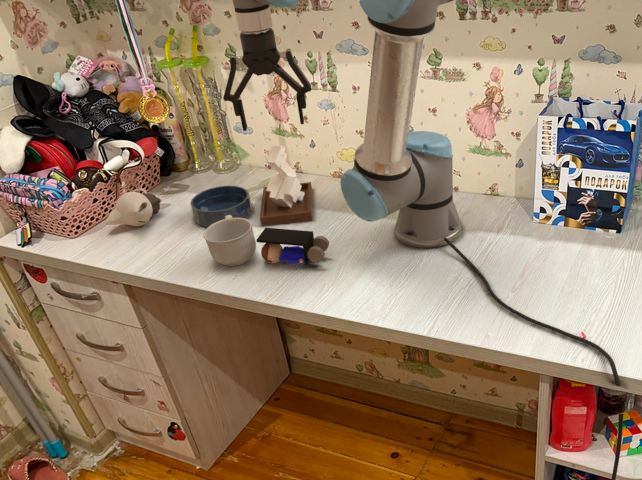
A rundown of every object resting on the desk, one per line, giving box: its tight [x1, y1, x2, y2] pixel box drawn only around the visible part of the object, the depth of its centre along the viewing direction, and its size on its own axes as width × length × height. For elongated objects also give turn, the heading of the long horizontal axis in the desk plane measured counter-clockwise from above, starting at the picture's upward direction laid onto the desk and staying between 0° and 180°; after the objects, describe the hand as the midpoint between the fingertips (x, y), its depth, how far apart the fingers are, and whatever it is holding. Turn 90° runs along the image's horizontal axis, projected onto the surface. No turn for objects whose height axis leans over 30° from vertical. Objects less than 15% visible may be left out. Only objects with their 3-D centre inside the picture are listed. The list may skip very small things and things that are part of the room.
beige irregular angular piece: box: [266, 145, 305, 208], centre depth 173 cm, size 7×12×15 cm
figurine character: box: [255, 227, 330, 267], centre depth 155 cm, size 7×8×15 cm
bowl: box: [190, 185, 253, 228], centre depth 177 cm, size 15×15×4 cm
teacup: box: [203, 215, 257, 267], centre depth 159 cm, size 14×11×8 cm
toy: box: [105, 187, 163, 227], centre depth 176 cm, size 13×9×15 cm
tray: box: [259, 181, 313, 227], centre depth 178 cm, size 18×13×2 cm
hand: (273, 125), depth 165 cm, fingers open, 13 cm apart
